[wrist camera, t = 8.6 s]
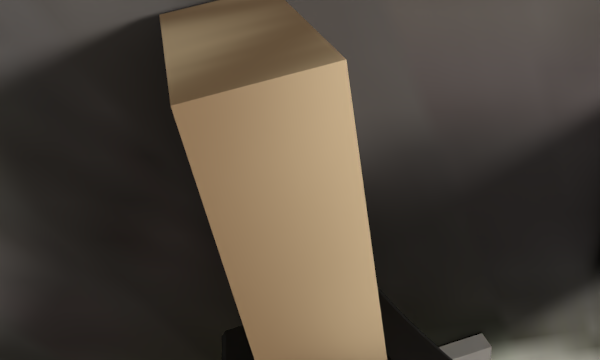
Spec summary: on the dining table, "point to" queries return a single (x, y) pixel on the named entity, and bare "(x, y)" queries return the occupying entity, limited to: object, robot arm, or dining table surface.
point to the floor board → (469, 349)
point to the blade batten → (277, 175)
